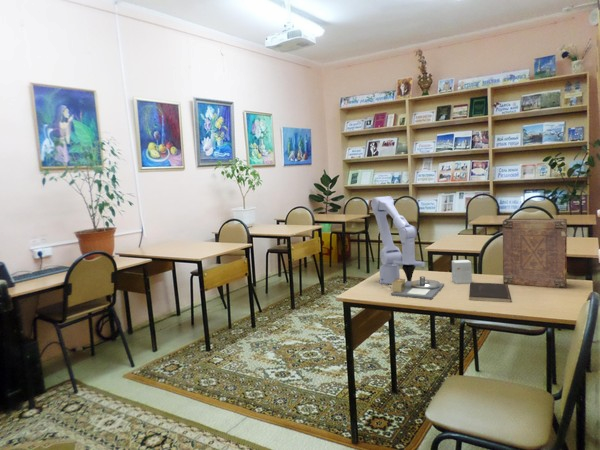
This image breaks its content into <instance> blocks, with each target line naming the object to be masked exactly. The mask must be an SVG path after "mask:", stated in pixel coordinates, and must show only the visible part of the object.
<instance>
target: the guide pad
mask: <svg viewBox="0 0 600 450" xmlns="http://www.w3.org/2000/svg"><path fill="white" fill-rule="evenodd" d="M429 292H430V289H419V288H412V289H411V290H410V291H409V292H408V293H407V294H410V295H421V296H426V295H427V294H428V293H429Z"/></svg>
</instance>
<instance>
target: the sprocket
mask: <svg viewBox="0 0 600 450" xmlns="http://www.w3.org/2000/svg"><path fill="white" fill-rule="evenodd" d="M412 281H413V282H412V283H411V285H412V287H414V288H419V289H435V288H438V287H440V281H438V280H434V279H426V276H419V279H416V280H412Z"/></svg>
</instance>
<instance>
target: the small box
mask: <svg viewBox="0 0 600 450" xmlns="http://www.w3.org/2000/svg"><path fill="white" fill-rule="evenodd" d="M472 273H473V272H472V261H470V260H468V259H457V260H456V259H455V260H451V280H452V281H451V282H452V283H454V284H455V285H458V284H459V285H460V284H461V285H462V284H470V282H473V279H472V278H473V275H472Z"/></svg>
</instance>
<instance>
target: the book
mask: <svg viewBox="0 0 600 450" xmlns="http://www.w3.org/2000/svg"><path fill="white" fill-rule="evenodd" d="M567 221H568V219H567V218H505V219H504V220H502V272H503V274H502V279H503V280H502V281H503V282H502V284H507V285H512V286H515V285H516V286H528V287H539V288H540V287H541V288H551V289H553V288H554V289H563V290H564V289H567V286H568V285H567V279H568V278H567V276H568V275H567V267H568V266H567V257H568V255H567V254H568V253H567V250H568V249H567V248H568V246H567V244H568V243H567V231H568V230H567V229H568V228H567V224H568V222H567Z"/></svg>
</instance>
